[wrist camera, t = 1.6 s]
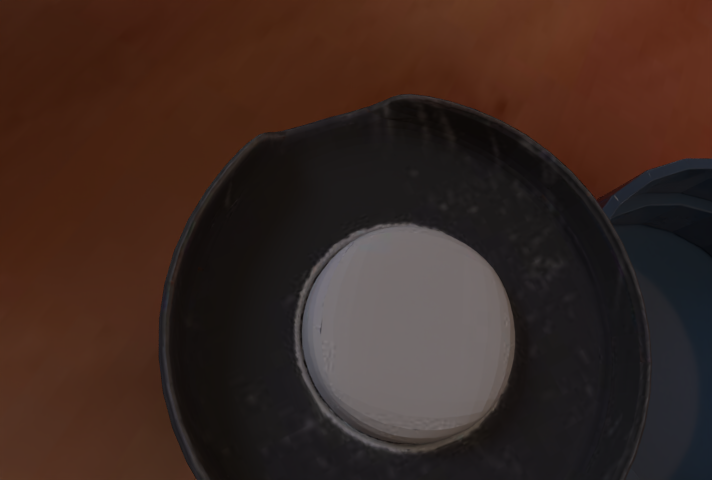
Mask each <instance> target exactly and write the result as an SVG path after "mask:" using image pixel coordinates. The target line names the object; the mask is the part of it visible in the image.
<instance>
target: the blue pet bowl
mask: <svg viewBox="0 0 712 480" xmlns="http://www.w3.org/2000/svg"><path fill="white" fill-rule="evenodd" d="M596 201H597V202H598V204H599V205H600V206H601V208H602V209H603V211H604V212H605V213H606V215H607V216H608V218H609V219H610V221H611V223H612V225H613V226H614V228H615V230H616V232H617V234H618V235H619V237H620V239H621V241H622V243H623V244H624V247H625V249H626V251H627V254H628V256H629V258H630V261H631V263H632V265H633V268H634V270H635V273H636V276H637V279H638V282H639V286H640V289H641V292H642V296H643V299H644V303H645V308H646V314H647V319H648V324H649V330H650V342H651V356H652V372H651V394H650V400H649V406H648V412H647V418H646V424H645V428H644V431H643V434H642V438H641V441H640V444H639V448H638V451H637V454H636V457H635V459H634V462H633V464H632V466H631V468H630V470H629V473H628V475H627V477H626V479H625V480H712V159H682V160H679V161H675V162H672V163H669V164H666V165H663V166H659V167H656V168H653V169H650V170H647V171H645V172H643V173H641V174H640V175H638V176H636V177H635V178H633V179H631V180H629V181H628V182H626V183H624V184H623V185H621V186H619V187H617V188H616V189H614V190H612V191H611V192H609V193H607V194H606V195H604V196H602V197H601V198H599V199H597V200H596Z"/></svg>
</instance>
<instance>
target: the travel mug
mask: <svg viewBox="0 0 712 480" xmlns="http://www.w3.org/2000/svg"><path fill="white" fill-rule="evenodd" d="M159 363H160V371H161V379H162V387H163V394H164V398H165V402H166V405H167V409H168V413H169V417H170V420H171V424H172V428H173V430H174V433H175V435H176V438H177V440H178V442H179V445H180V447H181V450H182V452H183V454H184V457H185V459H186V462H187V464H188V465H189V467H190V469H191V470H192V472H193V474H194V476H195V477H196V479H197V480H625V479H626V477H627V475H628V473H629V470H630V468H631V466H632V464H633V462H634V459H635V457H636V454H637V451H638V448H639V444H640V441H641V438H642V434H643V431H644V428H645V424H646V418H647V412H648V406H649V400H650V394H651V372H652V356H651V342H650V330H649V324H648V319H647V314H646V308H645V303H644V299H643V296H642V292H641V289H640V286H639V282H638V279H637V276H636V273H635V270H634V268H633V265H632V263H631V261H630V258H629V256H628V254H627V251H626V249H625V247H624V244H623V243H622V241H621V239H620V237H619V235H618V234H617V232H616V230H615V228H614V226H613V225H612V223H611V221H610V219H609V218H608V216H607V215H606V213H605V212H604V211H603V209H602V208H601V206H600V205H599V204H598V202H597V201H596V199H595V198H594V197H593V195H592V194H591V193H590V192H589V190H588V189H587V188H586V187H585V186H584V185H583V184H582V183H581V181H580V180H579V179H578V178H577V177H576V176H575V175H574V174H573V172H572V171H571V170H569V169H568V168H567V167H566V166H565V165H564V164H563V163H562V162H561V161H559V160H558V159H557V158H556V157H555V156H554V155H553V154H552V153H551V152H549V151H548V150H547V149H545V148H544V147H542V146H541V145H540V144H538V143H537V142H536V141H534V140H533V139H531V138H530V137H529V136H527V135H526V134H524V133H522V132H520V131H519V130H517V129H515V128H513V127H512V126H510V125H508V124H506V123H505V122H503V121H501V120H499V119H496V118H494V117H492V116H489V115H487V114H485V113H482V112H480V111H478V110H476V109H473V108H470V107H466V106H463V105H460V104H457V103H454V102H451V101H447V100H443V99H438V98H434V97H430V96H422V95H414V94H405V95H398V96H394V97H391V98H389V99H386V100H384V101H382V102H379V103H377V104H374V105H372V106H369V107H366V108H362V109H359V110H355V111H352V112H349V113H345V114H341V115H337V116H333V117H330V118H326V119H322V120H319V121H316V122H313V123H310V124H306V125H303V126H299V127H296V128H292V129H288V130H284V131H280V132H268V133H263V134H260V135H258V136H257V137H255V138H254V139H252V140H251V141H250V142H248V143H247V144H246V145H245V146H244V147H243V148H242V149H241V150H240V151H238V153H237V154H236V155H235V156H234V157H233V158H232V159H231V160H230V161H229V162H228V163H227V165H226V166H225V167H224V168H223V169H222V170H221V172H220V173H219V174H218V176H217V177H216V178H215V180H214V181H213V182H212V183H211V185H210V186H209V187H208V189H207V190H206V192H205V193H204V195H203V196H202V198H201V200H200V201H199V203H198V205H197V206H196V208H195V209H194V211H193V213H192V214H191V216H190V218H189V219H188V221H187V223H186V226H185V228H184V230H183V232H182V235H181V237H180V239H179V241H178V243H177V246H176V248H175V250H174V253H173V257H172V260H171V264H170V267H169V270H168V274H167V277H166V281H165V284H164V291H163V298H162V304H161V311H160V317H159Z"/></svg>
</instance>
